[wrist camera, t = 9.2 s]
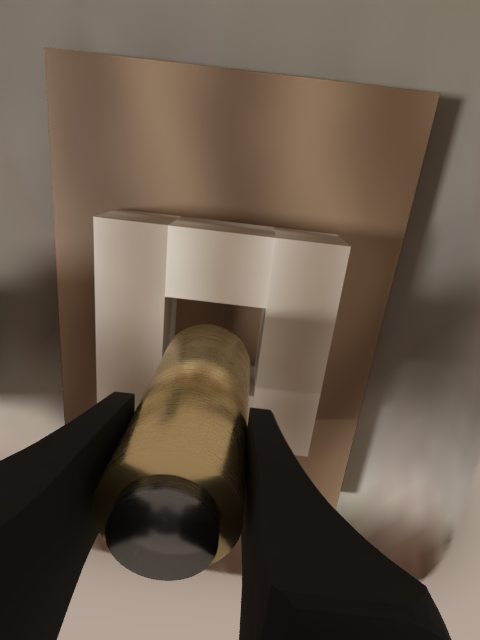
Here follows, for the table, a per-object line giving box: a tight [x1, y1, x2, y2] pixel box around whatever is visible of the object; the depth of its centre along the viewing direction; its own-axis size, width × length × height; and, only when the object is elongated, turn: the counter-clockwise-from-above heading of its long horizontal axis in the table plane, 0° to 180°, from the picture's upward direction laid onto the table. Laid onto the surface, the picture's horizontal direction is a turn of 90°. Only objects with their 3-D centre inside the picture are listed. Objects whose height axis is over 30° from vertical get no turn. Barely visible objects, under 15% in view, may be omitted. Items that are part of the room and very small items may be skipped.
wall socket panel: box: [45, 47, 440, 510], centre depth 20 cm, size 16×22×4 cm
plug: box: [92, 324, 250, 581], centre depth 12 cm, size 3×3×8 cm
